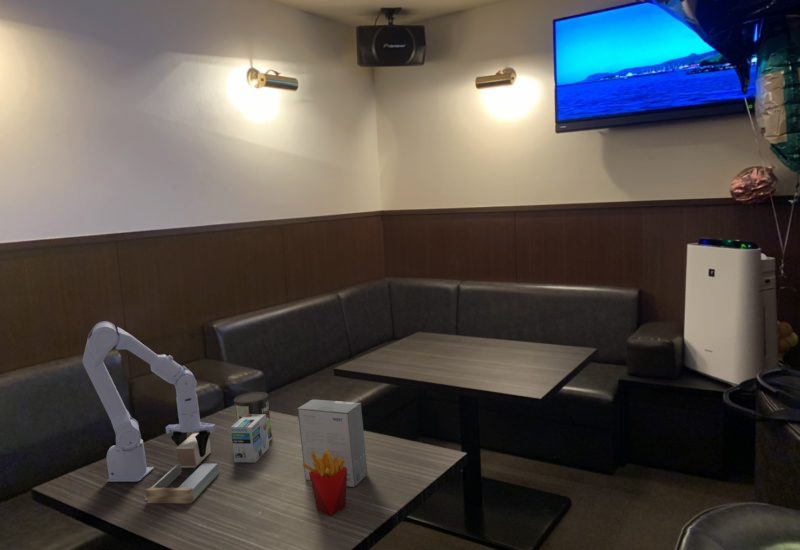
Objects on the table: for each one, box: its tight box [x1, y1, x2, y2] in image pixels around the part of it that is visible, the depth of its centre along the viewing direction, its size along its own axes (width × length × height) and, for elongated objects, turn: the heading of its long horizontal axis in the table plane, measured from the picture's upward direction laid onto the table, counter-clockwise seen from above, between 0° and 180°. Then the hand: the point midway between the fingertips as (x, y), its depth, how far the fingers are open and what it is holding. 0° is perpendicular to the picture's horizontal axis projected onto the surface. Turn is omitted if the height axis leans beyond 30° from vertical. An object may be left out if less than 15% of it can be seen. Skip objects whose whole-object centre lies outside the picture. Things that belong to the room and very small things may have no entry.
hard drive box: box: [297, 399, 368, 488], centre depth 157 cm, size 16×8×20 cm, turn 65°
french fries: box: [301, 449, 348, 517], centre depth 140 cm, size 9×8×15 cm
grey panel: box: [144, 462, 182, 502], centre depth 160 cm, size 2×15×3 cm, turn 172°
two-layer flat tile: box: [177, 463, 220, 501], centre depth 158 cm, size 5×15×3 cm, turn 172°
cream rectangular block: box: [175, 432, 212, 468], centre depth 175 cm, size 5×10×6 cm, turn 172°
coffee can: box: [233, 391, 273, 442], centre depth 186 cm, size 10×10×14 cm
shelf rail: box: [145, 487, 195, 504], centre depth 151 cm, size 12×1×4 cm, turn 82°
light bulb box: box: [230, 414, 270, 464], centre depth 175 cm, size 11×7×11 cm, turn 170°
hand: (194, 455), depth 175 cm, fingers closed on cream rectangular block, 5 cm apart
